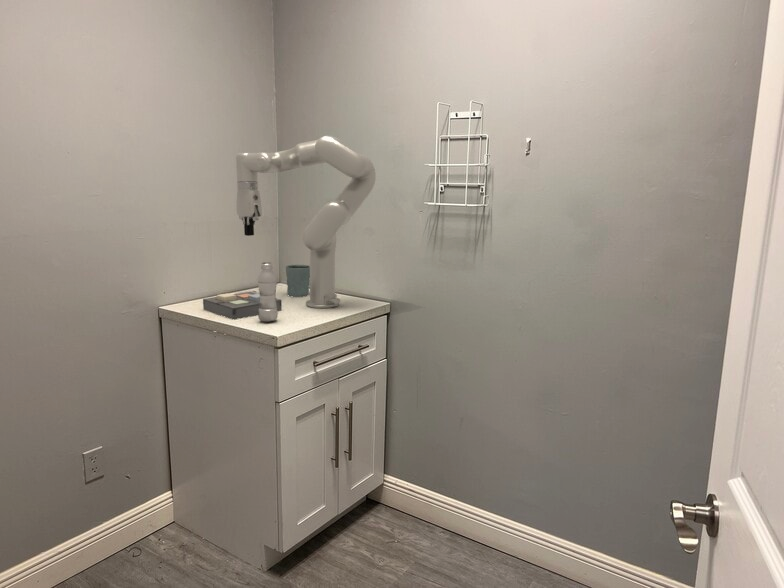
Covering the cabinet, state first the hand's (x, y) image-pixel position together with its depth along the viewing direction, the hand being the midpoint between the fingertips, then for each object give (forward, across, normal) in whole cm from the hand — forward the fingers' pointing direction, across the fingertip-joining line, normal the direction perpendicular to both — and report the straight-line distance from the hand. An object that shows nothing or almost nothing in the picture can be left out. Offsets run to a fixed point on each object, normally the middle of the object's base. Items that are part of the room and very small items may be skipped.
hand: (249, 235), depth 222 cm
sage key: (+24, -14, +16) cm, 32 cm away
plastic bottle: (+26, -30, +15) cm, 43 cm away
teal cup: (+26, -4, -21) cm, 34 cm away
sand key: (+23, -6, +15) cm, 28 cm away
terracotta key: (+24, -6, +7) cm, 26 cm away
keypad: (+26, -10, +11) cm, 30 cm away
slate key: (+23, -14, +8) cm, 28 cm away
